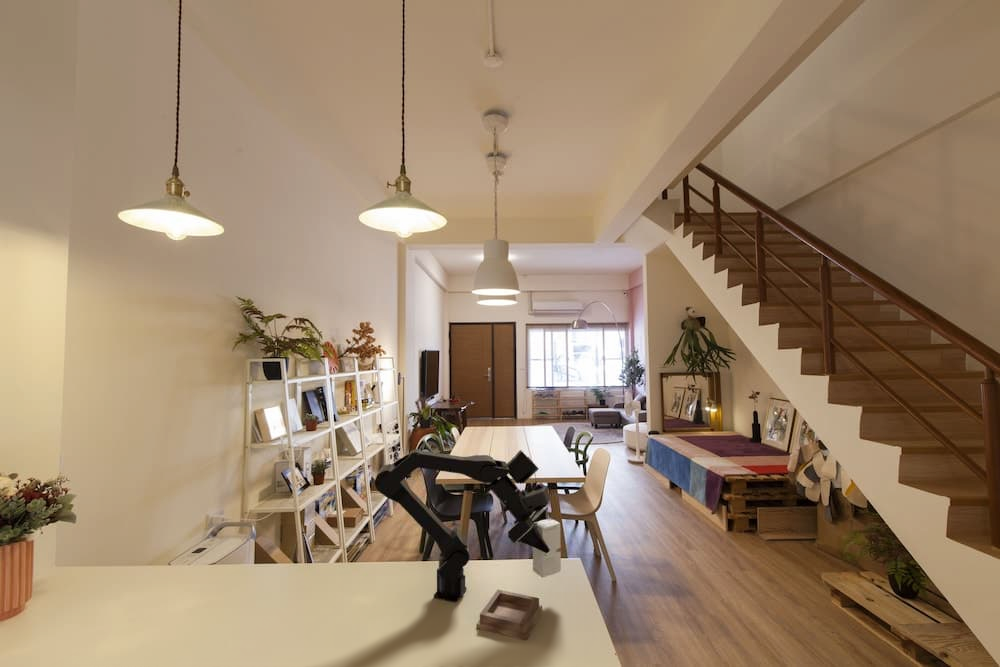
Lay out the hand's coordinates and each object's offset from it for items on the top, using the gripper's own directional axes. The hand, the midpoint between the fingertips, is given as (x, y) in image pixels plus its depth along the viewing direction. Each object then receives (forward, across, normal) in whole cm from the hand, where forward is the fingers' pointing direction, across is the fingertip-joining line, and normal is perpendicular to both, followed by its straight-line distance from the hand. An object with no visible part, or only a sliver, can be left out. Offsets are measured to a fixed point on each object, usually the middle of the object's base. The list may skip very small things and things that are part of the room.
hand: (552, 545), depth 111 cm
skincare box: (+4, 0, +6) cm, 7 cm away
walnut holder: (+4, -11, +15) cm, 19 cm away
